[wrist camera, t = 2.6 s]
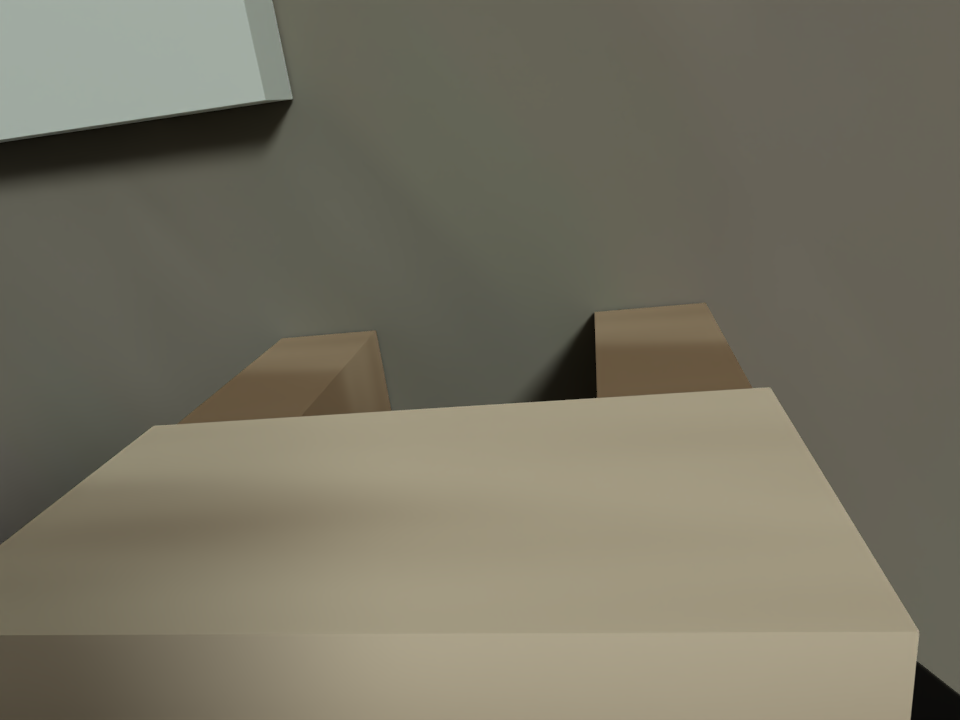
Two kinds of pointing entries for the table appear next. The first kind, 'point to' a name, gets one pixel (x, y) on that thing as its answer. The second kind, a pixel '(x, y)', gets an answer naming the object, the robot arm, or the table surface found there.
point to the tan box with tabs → (459, 555)
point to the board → (133, 61)
